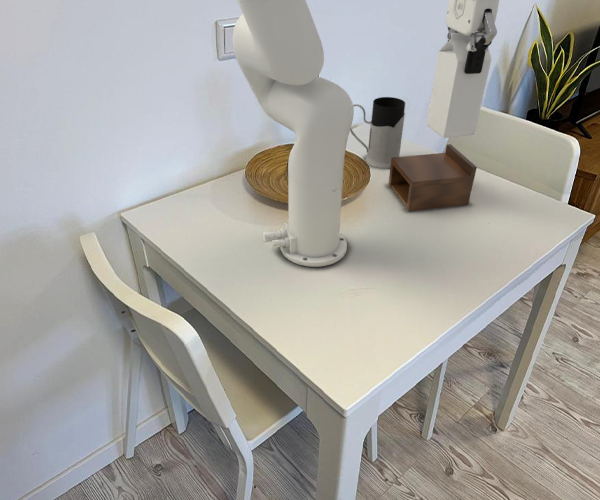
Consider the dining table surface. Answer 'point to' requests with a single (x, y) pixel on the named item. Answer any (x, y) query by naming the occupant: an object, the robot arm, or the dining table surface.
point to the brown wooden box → (432, 179)
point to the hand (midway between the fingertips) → (462, 66)
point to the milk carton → (456, 90)
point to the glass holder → (384, 131)
